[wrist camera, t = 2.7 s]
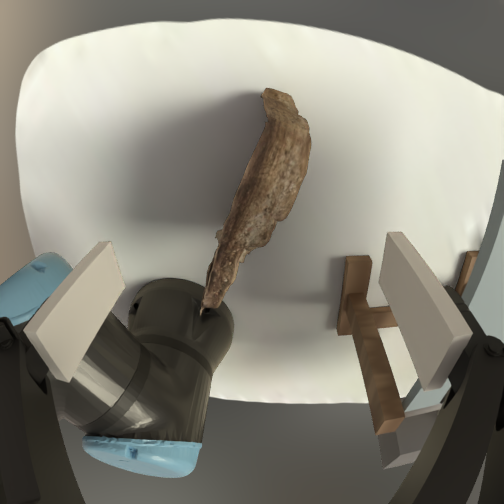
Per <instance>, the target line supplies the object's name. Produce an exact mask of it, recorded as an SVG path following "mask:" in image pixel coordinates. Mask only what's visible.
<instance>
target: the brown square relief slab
mask: <svg viewBox="0 0 504 504" xmlns="http://www.w3.org/2000/svg"><path fill="white" fill-rule="evenodd" d="M261 98H263V102H264V109H265V111H266V114H267V115H266V116H267V118H268V122H265V125H266V126H265V128H264V131H263V133H262V135H261V137H260V139H259V142H258V144H257V146H256V148H255V150H254V152H253V154H252V156H251V159H250V161H249V163H248V165H247V167H246V170H245V173H244V176H243V178H242V180H241V182H240V185H239V187H238V189H237V192H236V194H235V197H234V200H233V203H232V207H231V211H230V214H229V215H228V217H227V219H226V221H225V223H224V224H223V225H224V226H223V229H222V230H218V231H217V233H216V237H215V238H217V239H218V243H219V245H218V248H217V249H216V251H215V254H214V258H213V260H212V262H211V264H210V265H209V267H208V270H207V277H206V286H205V289H204V293H203V297H202V302H201V311H200V316H201V313H202V310H203V309H204V308H205V307H206V308H218V307H219V306H220V304H221V302H222V299H223V298H224V295H225V293H226V291H228V289H229V287H230V285H231V284H233V282H234V281H235V279H236V275H237V271H238V266H239V262H240V263H243V262H244V259H245V256H246V255H247V254H249V253H250V252H251V251H252V250H254V249H256V248H257V247H263V246H265V245H266V244H267V243H268V242H269V240H270V237H271V235H272V232H273V230H274V229H275V226H276V223H277V222H278V221H283V220H284V219H286V218H287V216H288V214H289V212H290V211H291V209H292V206H293V204H294V202H295V199H296V197H297V194H298V192H299V189H300V186H301V184H302V181H303V179H304V177H305V175H306V173H307V167H308V160H309V154H310V149H311V138H310V134H309V125H308V122H307V120H306V119H304V118H303V117H302V116H300V115H298V112H299V111H298V110H297V108H296V107H295V103H294V101H293V99H292V97H291V96H290V95H288V94H287V93H283V92H280V91H277V90H274V89H271V88H266V89H265V91H264V93H262V94H261Z"/></svg>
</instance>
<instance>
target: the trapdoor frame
mask: <svg viewBox="0 0 504 504" xmlns="http://www.w3.org/2000/svg"><path fill="white" fill-rule="evenodd" d="M478 253H479V251H468V252H467V254H466V257H465V261H464V264H463V267H462V271H461V274H460V277H459V280H458V283H457V286H456V289H455V291H456V292H458V293H459V295H460V296H461V297H462V294H463V292H464V290H465V287H466V285H467V282H468V280H469V277H470V275H471V272H472V270H473V267H474V264H475V262H476V259H477V256H478ZM371 268H372V260H371V258H370V256H369V255H368V256H346V261H345V270H344V279H343V287H342V294H341V302H340V309H339V315H338V322H337V328H336V329H337V333H338V336H341V335H352V336H353V340H354V343H355V347H356V351H357V355H358V359H359V363H360V367H361V371H362V375H363V379H364V384H365V388H366V392H367V397H368V401H369V406H370V410H371V415H372V420H373V425H374V430H375V435H379V434H385V433H390V432H395V431H396V429H397V428H398V427H399V425H400V424H401V422H402V421H403V420H404V418H405V413H404V410H403V406H402V403H401V399H400V396H399V393H398V389H397V386H396V383H395V379H394V376H393V373H392V370H391V367H390V364H389V361H388V358H387V355H386V352H385V349H384V346H383V343H382V340H381V338H380V335H379V332H378V328H387V327H396V326H398V324H397V322H396V320H395V317H394V315H393V313H392V310H391V308H390V306H389V307H377V308H369V305H368V303H367V300H366V296H367V291H368V286H369V280H370V274H371Z"/></svg>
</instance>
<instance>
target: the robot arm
mask: <svg viewBox="0 0 504 504" xmlns="http://www.w3.org/2000/svg"><path fill="white" fill-rule="evenodd" d="M379 284H380V286H381V288H382V291H383V293H384V295H385V297H386V299H387V301H388V304H389V306H390V308H391V310H392V313H393V315H394V317H395V320H396V322H397V324H398V327H399V329H400V331H401V334H402V336H403V339H404V341H405V343H406V346H407V348H408V351H409V353H410V356H411V359H412V361H413V364H414V366H415V369H416V372H417V375H418V377H419V380H420V383H421V386H422V389H423V391H424V392H426V391H431V390H435V389H439V388H442V386H443V385H444V383H445V382H446V380H447V378H448V379H449V381H450V384H451V387H450V388H449V390H448V391H447V393H446V394H445V396H444V397H443V398H442V400H441V401H440V403H441V404H442V403H443V404H442V407H441V409H440V411H439V414H438V416H437V418H436V420H435V423H434V425H433V427H432V429H431V431H430V433H429V435H428V437H427V439H426V441H425V443H424V445H423V447H422V449H421V451H420V453H419V455H418V457H417V459H416V460H415V462H414V464H413V466H412V467H411V469H410V471H409V473H408V474H407V476H406V478H405V479H404V481H403V482H402V484H401V486H400V487H399V489H398V490H397V492H396V493H395V495H394V497H393V498H392V499H391V501H390V502H389V504H466V502H467V500H468V498H469V496H470V493H471V491H472V489H473V487H474V484H475V482H476V479H477V477H478V475H479V472H480V469H481V467H482V464H483V461H484V459H485V456H486V462H485V469H484V476H483V481H482V486H481V491H480V496H479V501H478V504H504V343H503V342H502V341H501V340H500V339H498V338H496V337H494V336H490V335H487V336H486V334H485V332H484V331H483V329H482V328H481V326H480V324H479V323H478V321H477V320H476V318H475V317H474V315H473V314H472V312H471V311H469V308H468V306H467V305H466V304H465V302H464V300H463V299H462V297H461V296H460V295H459V293H458V292H456V291H455V290H454V289H452V288H451V287H450V286H444V287H443V286H442V284H441V283H440V282H439V280H438V279H437V277H436V276H435V275H434V273H433V272H432V270H431V269H430V268H429V266H428V265H427V264H426V262H425V261H424V260H423V258H422V257H421V256H420V254H419V253H418V252H417V250H416V249H415V248H414V247H413V245H412V244H411V243H410V241H409V240H408V239H407V238H406V236H405V235H404V234H403V233H402V232H387V237H386V243H385V250H384V256H383V261H382V267H381V272H380V277H379ZM125 287H126V286H125V283H124V281H123V278H122V275H121V272H120V269H119V266H118V262H117V259H116V256H115V253H114V250H113V246H112V243H111V241H109V242H99V243H98V244H97V245H96V246H95V247H94V248H93V249H92V250H91V251H90V252H89V253H88V254H87V255H86V256H85V257H84V258H83V259H82V260H81V262H80V263H79V264H78V265H77V266H76V267H75V268H74V269H73V268H72V267H71V266H70V265H69V264H68V263H67V261H66V260H65V259H64V258H63V257H62V256H60V255H59V254H56V253H52V252H48V253H43V254H41V255H40V256H38V257H37V258H35V259H34V260H32V261H31V262H30V263H28V264H27V265H25V266H24V267H23V268H21V269H20V270H19V271H17V272H16V273H15V274H14V275H12V276H11V277H10V278H8V279H7V280H6V281H5V282H4V283H2V284H1V285H0V504H85V501H84V499H83V497H82V494H81V492H80V489H79V487H78V484H77V481H76V479H75V476H74V473H73V470H72V467H71V464H70V461H69V458H68V455H67V452H66V448H65V445H64V441H63V438H62V434H61V430H60V426H59V421H60V420H61V419H62V418H65V419H66V420H68V421H69V422H70V423H72V424H73V425H75V426H76V427H78V428H79V429H81V430H82V431H83V432H84V433H85V434H86V435H85V436H84V437H83V438H82V441H83V449H84V450H85V452H87V453H88V454H89V455H91V456H92V457H94V458H96V459H98V460H100V461H102V462H105V463H107V464H110V465H112V466H115V467H118V468H121V469H124V470H128V471H132V472H135V473H140V474H144V475H150V476H156V477H167V478H176V477H183V476H186V475H188V474H189V473H191V472H192V471H193V469H194V468H195V465H196V461H197V457H198V453H199V449H200V448H201V447H202V437H203V431H204V425H205V419H206V412H207V406H208V399H209V394H210V388H211V381H212V376H213V373H214V372H215V370H216V368H217V367H218V365H219V364H220V362H221V361H222V359H223V358H224V356H225V355H226V353H227V352H228V350H229V348H230V346H231V343H232V339H233V332H234V321H233V317H232V315H231V312H230V310H229V309H228V307H227V306H226V304H225V303H224V302H223V301H222V302H221V304H220V306H219V307H218V308H206V307H205V308H204V309H203V310H202V313H201V316H200V311H201V302H202V297H203V293H204V289H205V287H203V286H201V285H198V284H196V283H193V282H190V281H186V280H181V279H161V280H156V281H153V282H151V283H149V284H147V285H145V286H144V287H143V288H142V289H141V290H140V291H139V292H138V294H137V295H136V297H135V299H134V301H133V302H132V304H131V307H130V310H129V317H128V329H127V328H126V327H125V326H124V325H123V324H122V323H121V322H120V321H119V320H118V319H117V318H116V317H115V315H114V314H113V313H112V312H111V309H112V307H113V306H114V304H115V303H116V301H117V299H118V298H119V296H120V295H121V293H122V292H123V290H124V288H125ZM486 453H487V455H486Z"/></svg>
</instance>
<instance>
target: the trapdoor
mask: <svg viewBox="0 0 504 504" xmlns="http://www.w3.org/2000/svg"><path fill="white" fill-rule="evenodd" d="M462 299H463V300H464V302H465V304H466V305H467V306H468V308H469V311H471V312H472V314H473V315H474V317H475V318H476V320H477V321H478V323H479V324H480V326H481V328H482V329H483V331H484V332H485V334H486V336H487V335H490V336H494V337H496V338H498V339H500V340H501V341H502V342H503V343H504V160H502V165H501V170H500V176H499V181H498V185H497V190H496V194H495V199H494V203H493V207H492V211H491V214H490V218H489V222H488V225H487V228H486V232H485V235H484V238H483V241H482V244H481V247H480V250H479V253H478V256H477V259H476V262H475V264H474V267H473V270H472V272H471V275H470V277H469V280H468V282H467V285H466V287H465V290H464V292H463V294H462ZM450 387H451V384H450V381H449V379H448V378H447V380H446V382H445V383H444V385H443V386H442V388H439V389H435V390H431V391H426V392H424V391H423V389H422V386H421V383H420V380H419V378H418V379H417V381H416V382H415V384H414V385H413V387H412V389H411V390H410V392H409V393H408V395H407V396H406V397H404V398H400V399H401V403H402V406H403V410H404V413H405V418H404V420H403V421H402V422H401V424H400V425H399V427H398V428H397V429H396V431H395V432H390V433H385V434H379V435H378V440H379V446H380V453H381V460H382V467H383V469H387V468H391V467H396V466H400V465H404V464H408V463H411V462H415V460H416V459H417V457H418V455H419V453H420V451H421V449H422V447H423V445H424V443H425V441H426V439H427V437H428V435H429V433H430V431H431V429H432V427H433V425H434V423H435V420H436V418H437V416H438V414H439V411H440V409H441V407H442V404H443V403H442V404H441V403H440V401H441V400H442V398H443V397H444V396H445V394H446V393H447V391H448V390H449V388H450Z"/></svg>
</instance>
